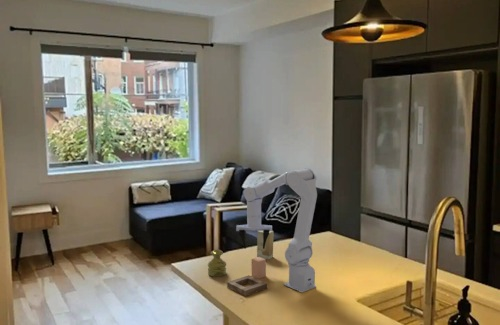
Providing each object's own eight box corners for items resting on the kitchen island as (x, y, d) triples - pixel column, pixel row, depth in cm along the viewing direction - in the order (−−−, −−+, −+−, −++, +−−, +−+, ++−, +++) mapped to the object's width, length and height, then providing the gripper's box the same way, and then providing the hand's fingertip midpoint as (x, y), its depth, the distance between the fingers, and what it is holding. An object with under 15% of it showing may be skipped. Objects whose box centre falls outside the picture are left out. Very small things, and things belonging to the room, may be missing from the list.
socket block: (267, 288, 163) (267, 283, 163) (245, 296, 157) (245, 290, 156) (248, 280, 171) (248, 275, 171) (227, 287, 165) (227, 282, 164)
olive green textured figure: (218, 278, 173) (217, 253, 172) (204, 274, 178) (203, 250, 177) (230, 273, 179) (229, 249, 178) (216, 269, 184) (215, 245, 182)
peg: (265, 276, 175) (265, 259, 175) (258, 278, 173) (258, 261, 172) (259, 273, 178) (259, 256, 178) (251, 276, 176) (251, 259, 175)
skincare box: (256, 257, 197) (256, 231, 196) (260, 254, 201) (260, 228, 200) (269, 259, 195) (269, 232, 193) (273, 257, 198) (273, 230, 197)
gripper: (272, 213, 183) (272, 245, 184) (237, 213, 184) (237, 244, 185) (271, 217, 176) (272, 250, 177) (235, 217, 177) (236, 250, 178)
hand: (254, 247), depth 181 cm, fingers open, 7 cm apart
